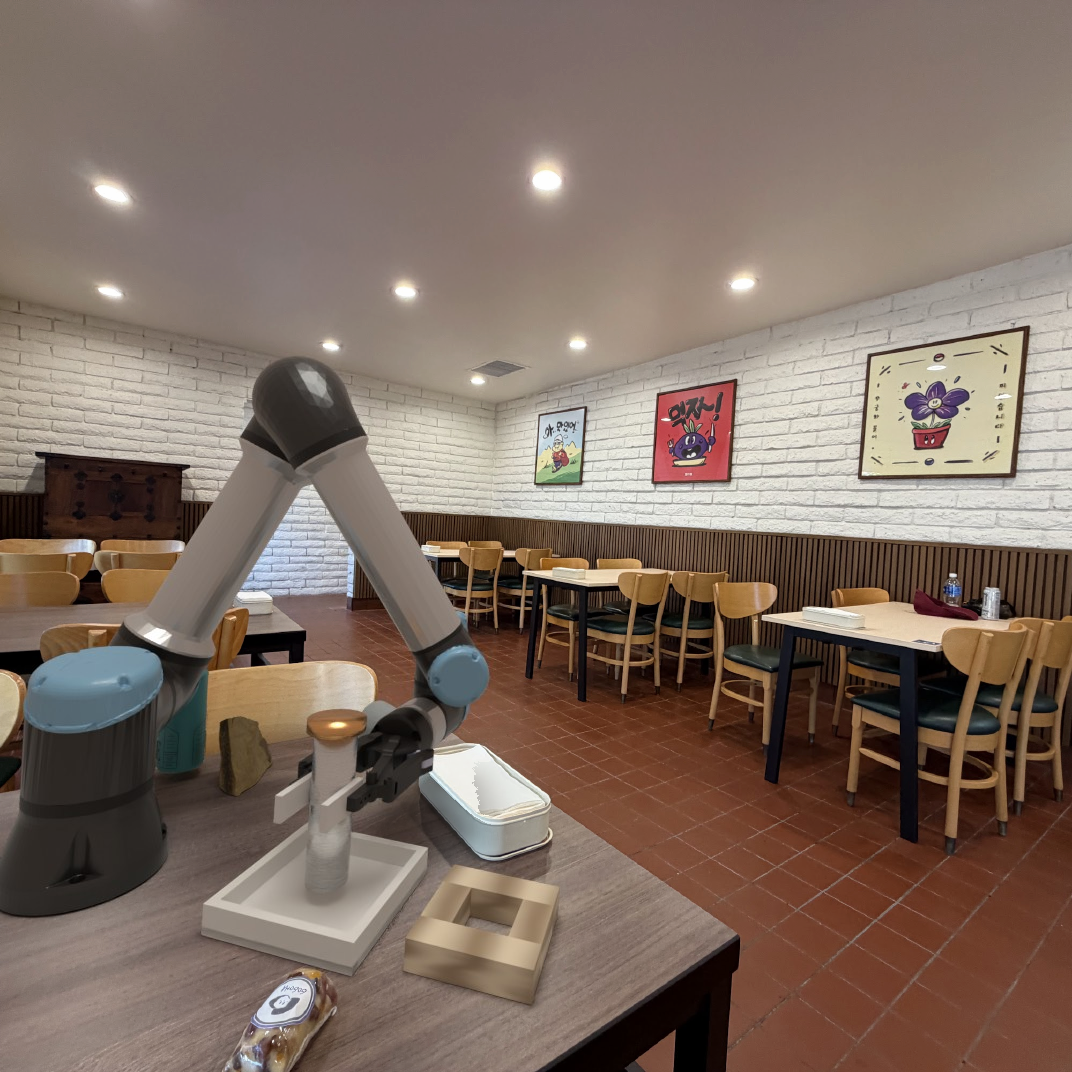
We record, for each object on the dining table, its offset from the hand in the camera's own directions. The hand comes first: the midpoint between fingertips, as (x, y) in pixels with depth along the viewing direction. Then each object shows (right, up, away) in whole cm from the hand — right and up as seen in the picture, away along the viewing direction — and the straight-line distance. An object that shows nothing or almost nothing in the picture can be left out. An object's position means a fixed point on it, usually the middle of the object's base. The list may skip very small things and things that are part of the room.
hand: (300, 814), depth 55 cm
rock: (-21, -10, +32) cm, 40 cm away
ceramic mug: (-4, -12, +48) cm, 50 cm away
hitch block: (+18, -13, +1) cm, 22 cm away
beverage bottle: (-31, -10, +31) cm, 45 cm away
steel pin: (+1, -10, +5) cm, 11 cm away
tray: (0, -12, +5) cm, 13 cm away
